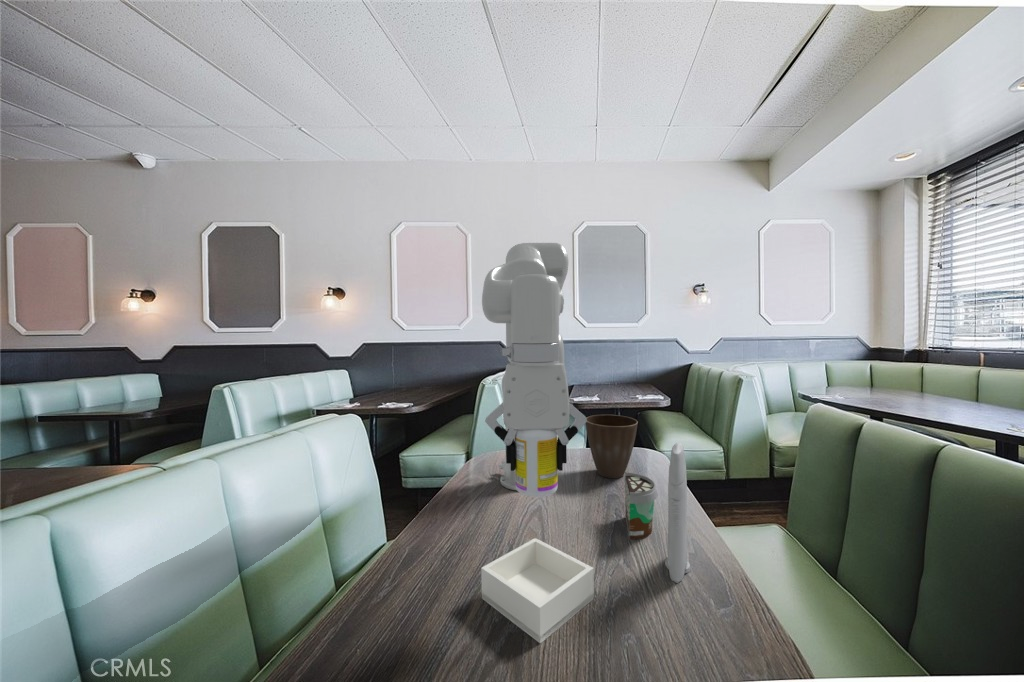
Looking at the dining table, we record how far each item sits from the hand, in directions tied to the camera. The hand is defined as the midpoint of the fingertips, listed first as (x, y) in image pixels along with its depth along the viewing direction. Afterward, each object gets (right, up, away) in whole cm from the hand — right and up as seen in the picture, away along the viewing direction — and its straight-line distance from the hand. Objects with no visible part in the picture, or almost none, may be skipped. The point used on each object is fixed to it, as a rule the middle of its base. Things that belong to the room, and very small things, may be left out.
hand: (536, 466), depth 62 cm
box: (0, -21, +1) cm, 21 cm away
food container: (+24, -20, +22) cm, 38 cm away
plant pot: (+25, -19, +54) cm, 63 cm away
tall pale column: (+26, -21, +8) cm, 34 cm away
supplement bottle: (0, -4, 0) cm, 4 cm away
